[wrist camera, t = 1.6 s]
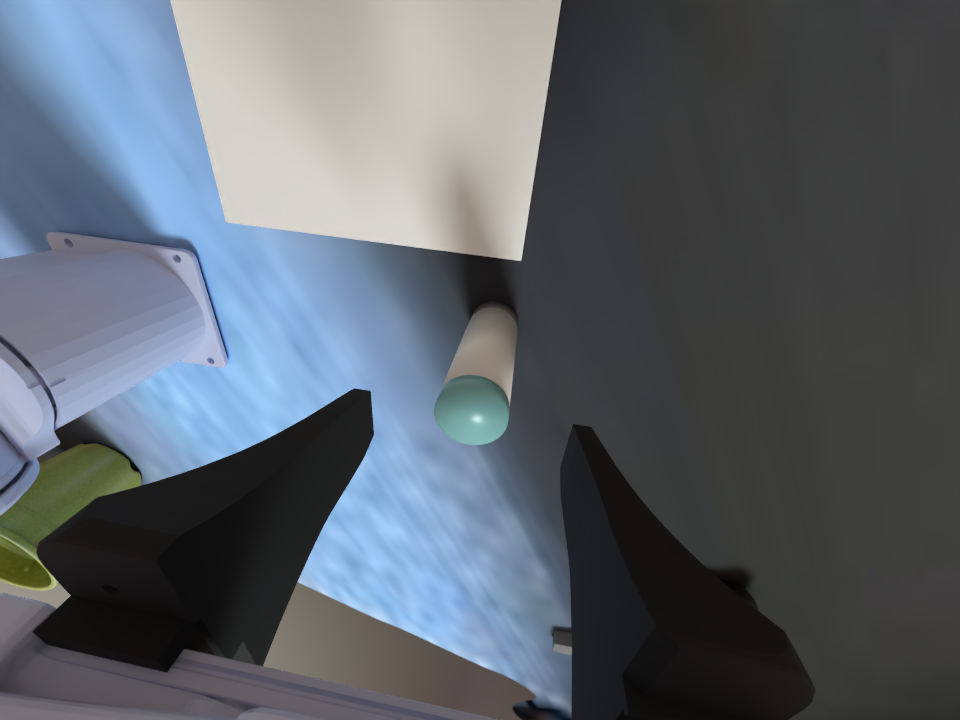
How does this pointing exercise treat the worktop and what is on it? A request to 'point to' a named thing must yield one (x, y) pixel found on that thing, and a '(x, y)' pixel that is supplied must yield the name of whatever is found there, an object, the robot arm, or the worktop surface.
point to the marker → (480, 377)
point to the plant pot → (57, 507)
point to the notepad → (374, 115)
